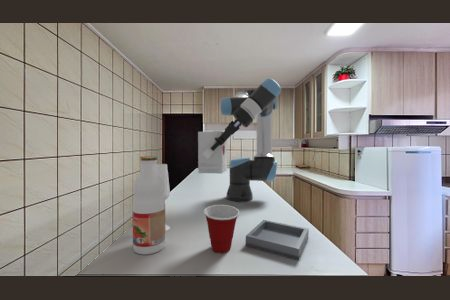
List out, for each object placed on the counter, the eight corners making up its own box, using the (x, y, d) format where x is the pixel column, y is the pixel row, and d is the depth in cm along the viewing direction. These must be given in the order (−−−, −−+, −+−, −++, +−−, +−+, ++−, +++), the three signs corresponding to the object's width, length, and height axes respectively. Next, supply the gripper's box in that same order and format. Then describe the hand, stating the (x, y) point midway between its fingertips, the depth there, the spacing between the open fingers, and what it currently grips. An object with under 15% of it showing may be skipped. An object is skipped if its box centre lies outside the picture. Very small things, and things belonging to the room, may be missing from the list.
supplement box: (222, 173, 74) (221, 130, 74) (197, 173, 76) (197, 131, 76) (227, 170, 83) (226, 132, 83) (205, 170, 85) (204, 132, 85)
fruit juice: (166, 252, 63) (165, 157, 62) (131, 258, 60) (130, 158, 58) (164, 238, 71) (164, 155, 70) (134, 242, 68) (133, 155, 67)
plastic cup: (210, 261, 58) (210, 218, 57) (199, 244, 68) (199, 206, 67) (245, 253, 62) (246, 213, 62) (230, 238, 72) (230, 203, 72)
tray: (263, 228, 81) (263, 219, 80) (308, 237, 72) (308, 228, 72) (245, 245, 67) (245, 235, 67) (298, 260, 59) (298, 249, 59)
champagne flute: (161, 223, 85) (161, 163, 84) (173, 227, 81) (173, 164, 80) (147, 229, 79) (146, 164, 78) (160, 233, 75) (159, 166, 74)
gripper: (260, 116, 69) (212, 165, 68) (248, 123, 92) (212, 160, 91) (244, 100, 68) (195, 149, 68) (235, 110, 91) (199, 147, 91)
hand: (205, 155), depth 79 cm, fingers closed on supplement box, 10 cm apart
